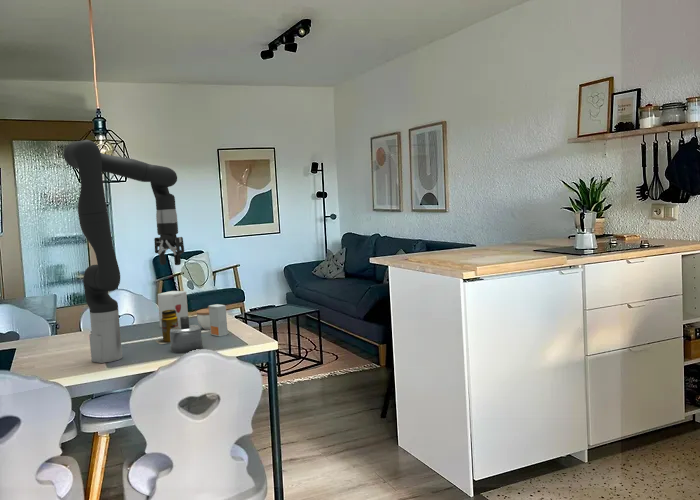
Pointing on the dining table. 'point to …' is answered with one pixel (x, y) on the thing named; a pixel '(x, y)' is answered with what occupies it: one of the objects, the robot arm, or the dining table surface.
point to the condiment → (168, 325)
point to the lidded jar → (204, 318)
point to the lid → (185, 326)
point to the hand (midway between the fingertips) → (170, 264)
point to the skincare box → (218, 320)
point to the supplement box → (173, 304)
